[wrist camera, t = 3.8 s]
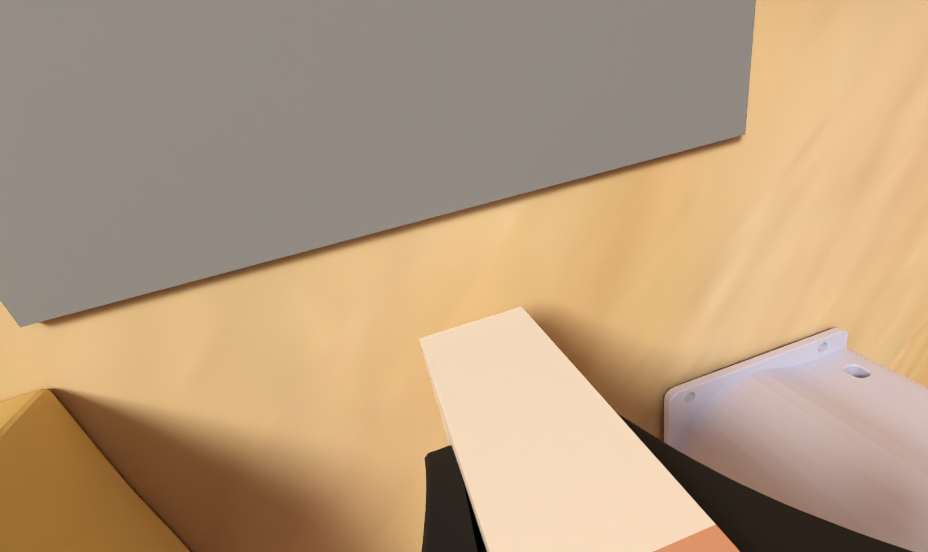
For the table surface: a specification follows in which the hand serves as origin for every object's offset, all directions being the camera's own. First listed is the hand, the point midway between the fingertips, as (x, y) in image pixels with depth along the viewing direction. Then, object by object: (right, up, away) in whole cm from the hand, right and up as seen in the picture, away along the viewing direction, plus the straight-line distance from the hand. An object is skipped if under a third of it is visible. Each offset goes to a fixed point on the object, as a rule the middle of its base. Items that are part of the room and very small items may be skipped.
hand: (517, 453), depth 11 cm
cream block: (-1, +1, +2) cm, 2 cm away
